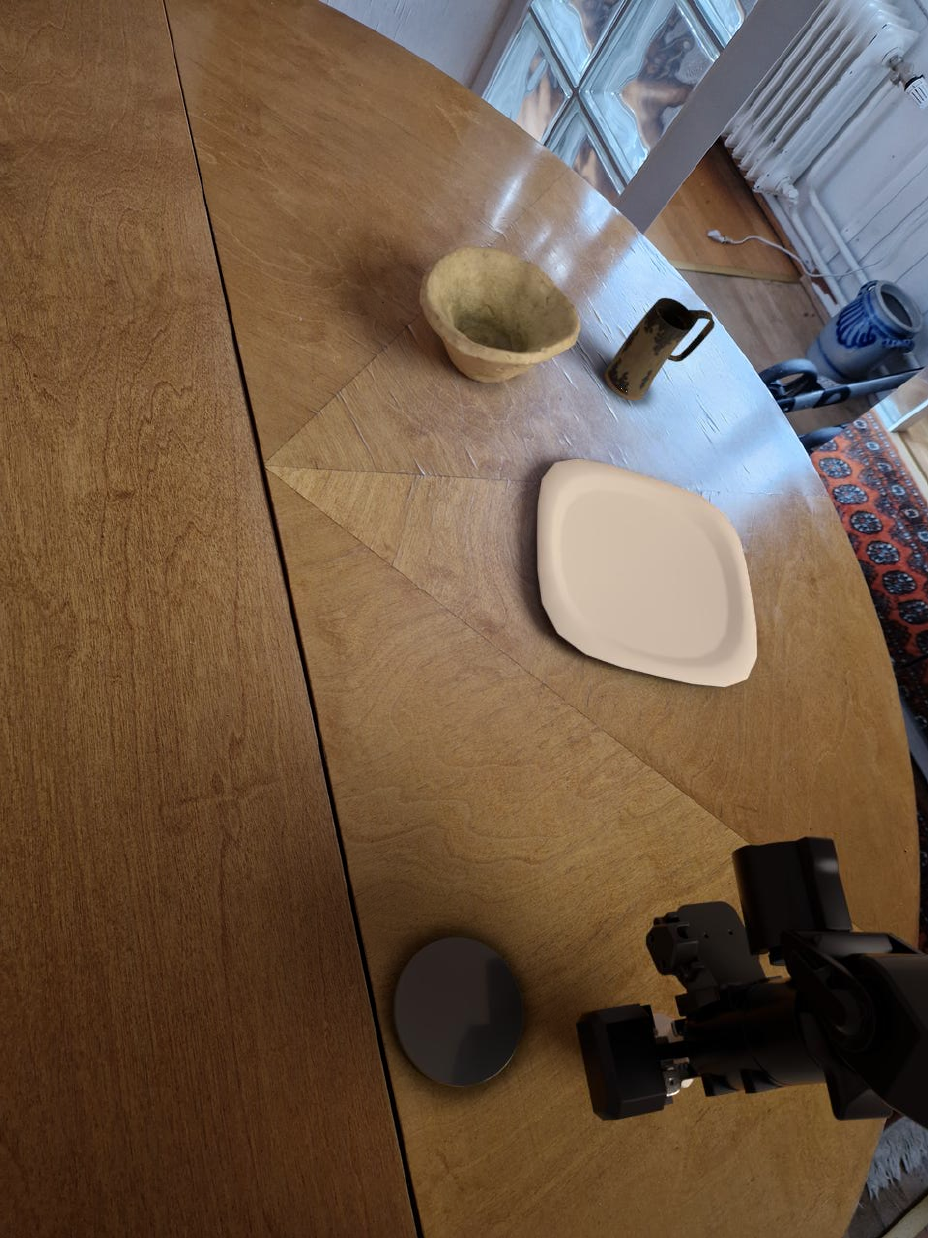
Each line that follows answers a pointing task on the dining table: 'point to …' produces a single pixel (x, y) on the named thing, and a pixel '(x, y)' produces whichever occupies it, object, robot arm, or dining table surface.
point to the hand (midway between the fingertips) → (647, 1053)
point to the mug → (654, 346)
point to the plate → (644, 575)
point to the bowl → (496, 312)
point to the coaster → (458, 1012)
